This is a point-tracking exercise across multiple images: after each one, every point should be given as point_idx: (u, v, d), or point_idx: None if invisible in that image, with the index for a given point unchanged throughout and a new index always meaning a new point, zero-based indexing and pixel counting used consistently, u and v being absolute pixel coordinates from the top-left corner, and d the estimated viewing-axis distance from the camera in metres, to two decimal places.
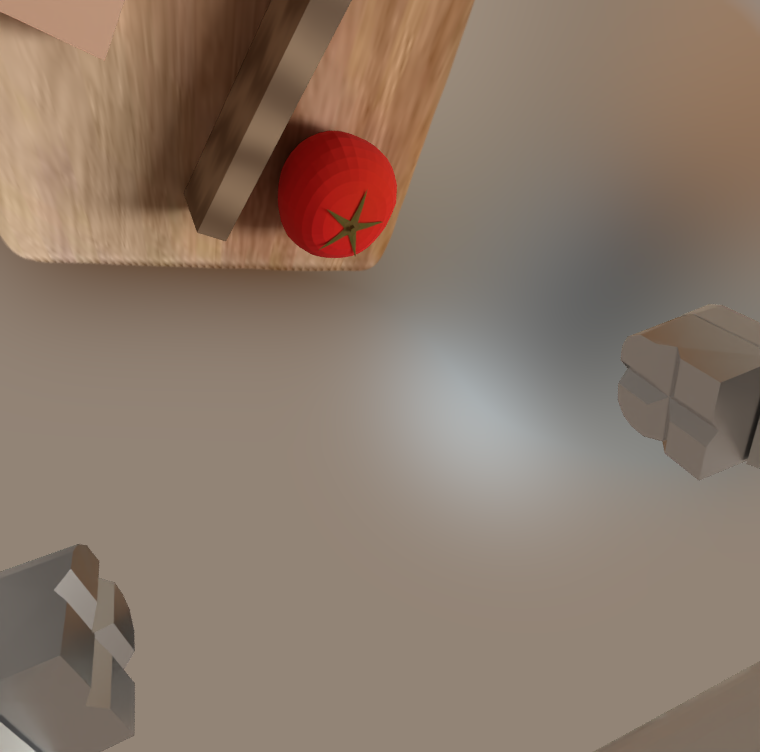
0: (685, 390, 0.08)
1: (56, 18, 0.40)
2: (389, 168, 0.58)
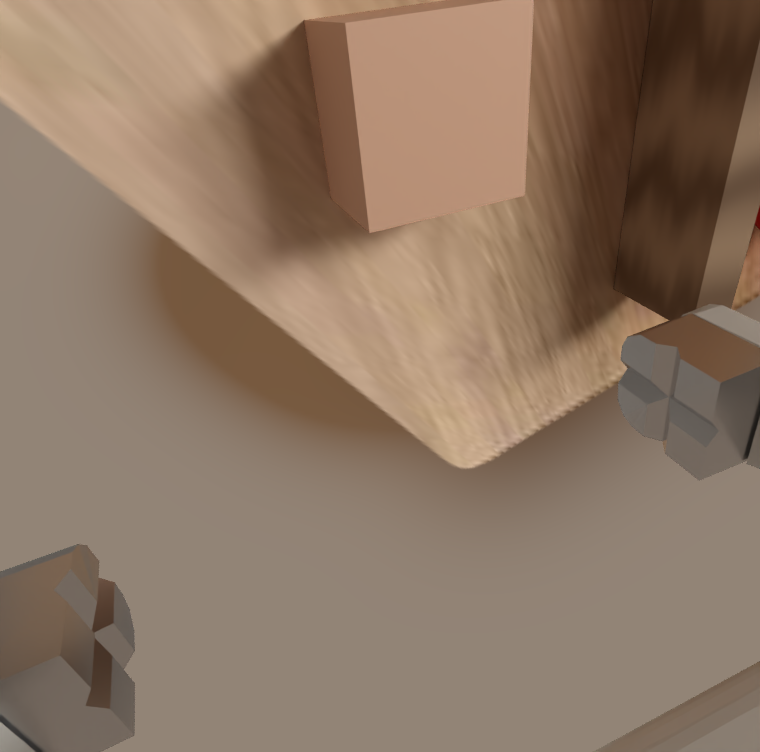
0: (686, 391, 0.08)
1: (458, 185, 0.26)
2: None
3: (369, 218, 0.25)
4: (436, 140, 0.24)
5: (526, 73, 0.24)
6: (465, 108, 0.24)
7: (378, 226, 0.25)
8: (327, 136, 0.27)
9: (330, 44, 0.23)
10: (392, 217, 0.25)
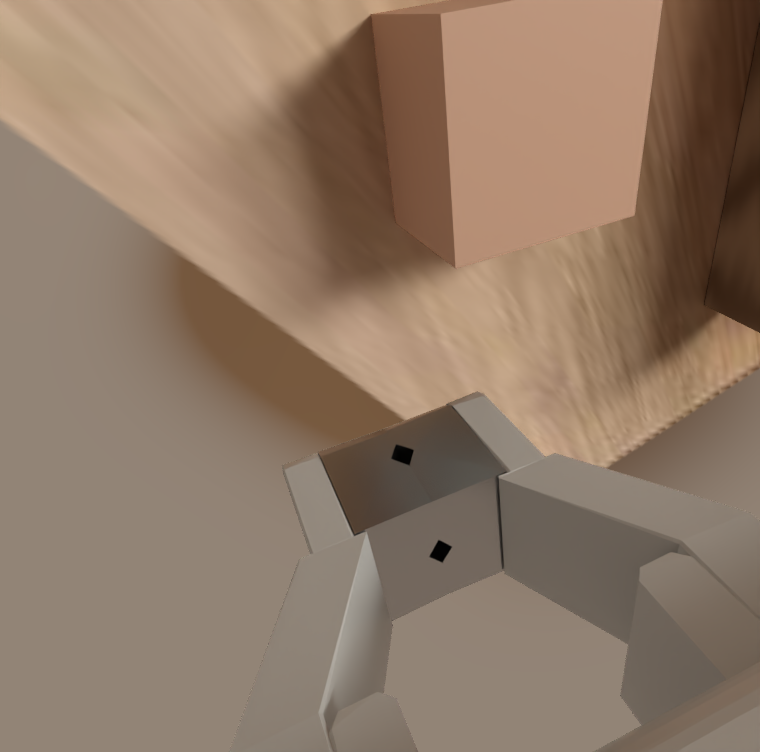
0: None
1: (560, 207, 0.21)
2: None
3: (456, 251, 0.21)
4: (539, 155, 0.20)
5: (648, 69, 0.20)
6: (575, 114, 0.19)
7: (466, 260, 0.21)
8: (396, 152, 0.23)
9: (412, 42, 0.18)
10: (482, 248, 0.21)
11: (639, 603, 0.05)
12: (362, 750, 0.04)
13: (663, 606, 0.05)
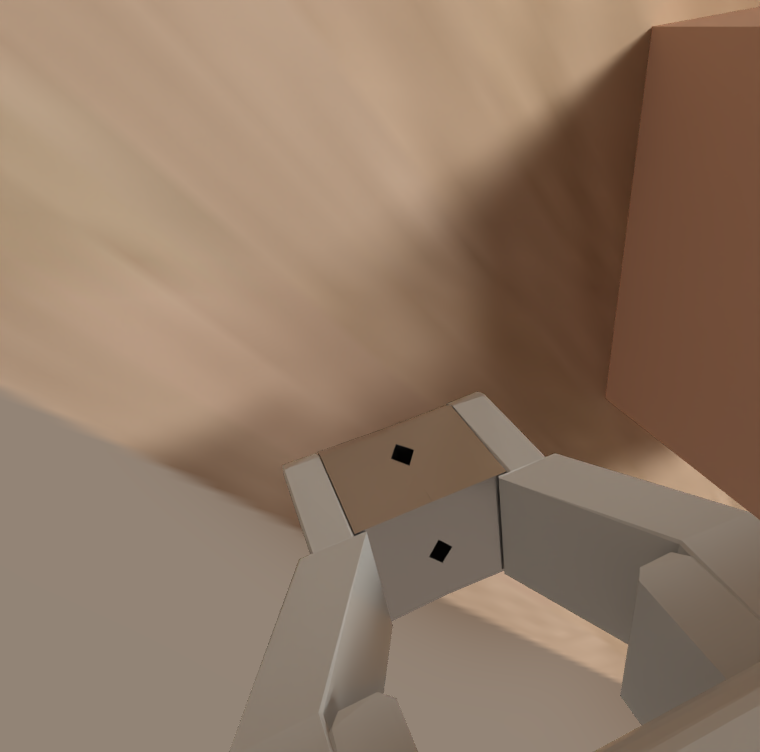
0: None
1: None
2: None
3: None
4: None
5: None
6: None
7: None
8: (658, 297, 0.11)
9: None
10: None
11: (639, 603, 0.05)
12: (362, 750, 0.04)
13: (663, 606, 0.05)
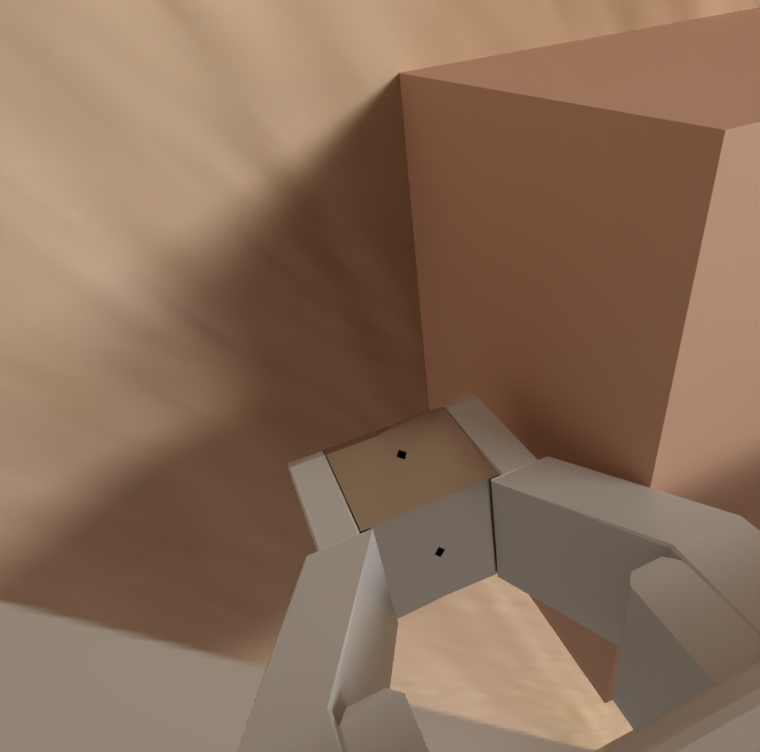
0: None
1: None
2: None
3: (614, 678, 0.08)
4: None
5: None
6: None
7: None
8: (451, 366, 0.10)
9: (538, 177, 0.06)
10: None
11: (630, 607, 0.05)
12: (371, 745, 0.04)
13: (653, 611, 0.05)
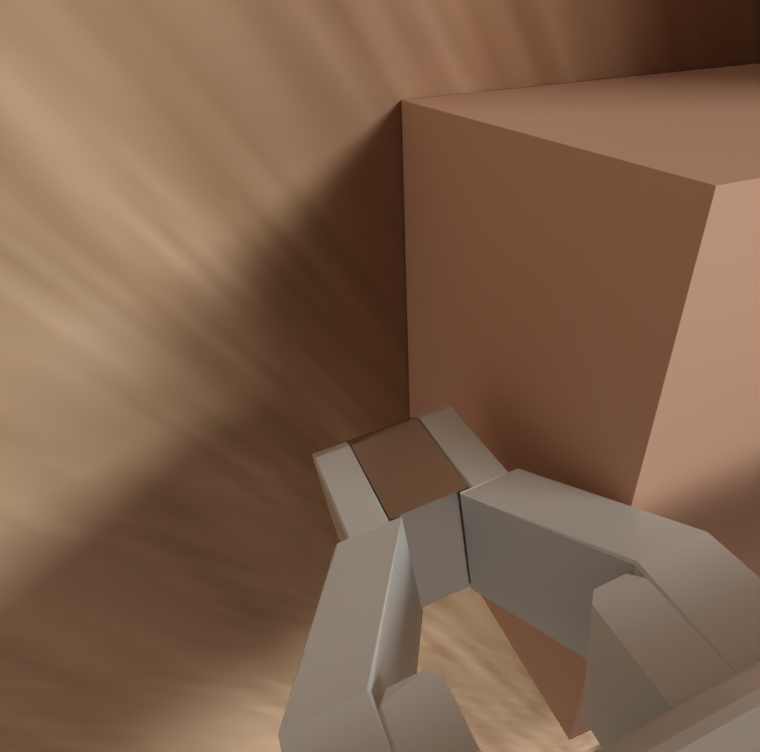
0: None
1: None
2: None
3: (579, 715, 0.08)
4: None
5: None
6: None
7: None
8: (434, 391, 0.10)
9: (532, 213, 0.06)
10: None
11: (592, 625, 0.05)
12: (413, 725, 0.04)
13: (614, 630, 0.05)
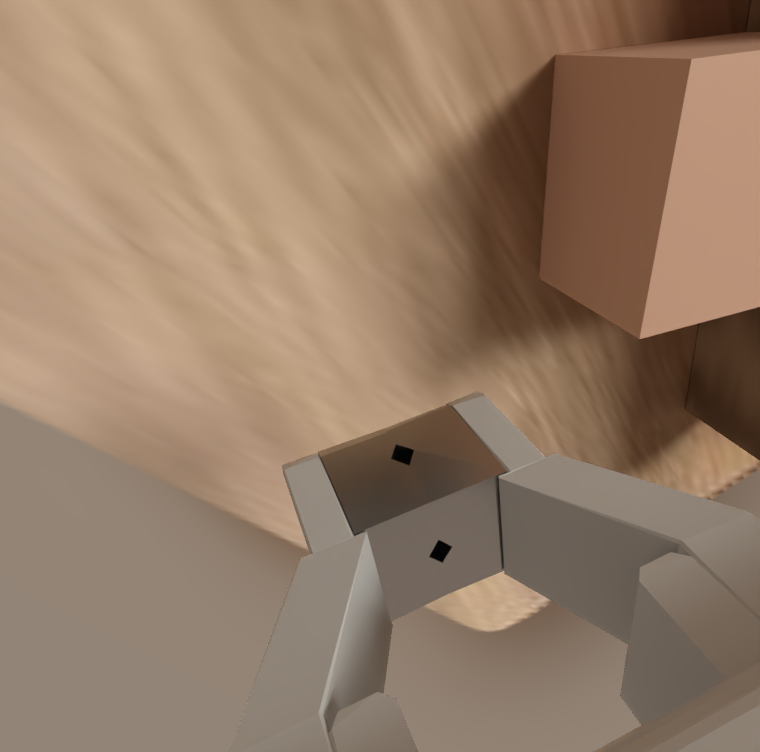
0: None
1: (756, 277, 0.19)
2: None
3: (644, 320, 0.18)
4: (749, 220, 0.17)
5: None
6: None
7: (651, 330, 0.18)
8: (562, 204, 0.21)
9: (626, 88, 0.16)
10: (670, 318, 0.18)
11: (639, 603, 0.05)
12: (362, 750, 0.04)
13: (663, 606, 0.05)
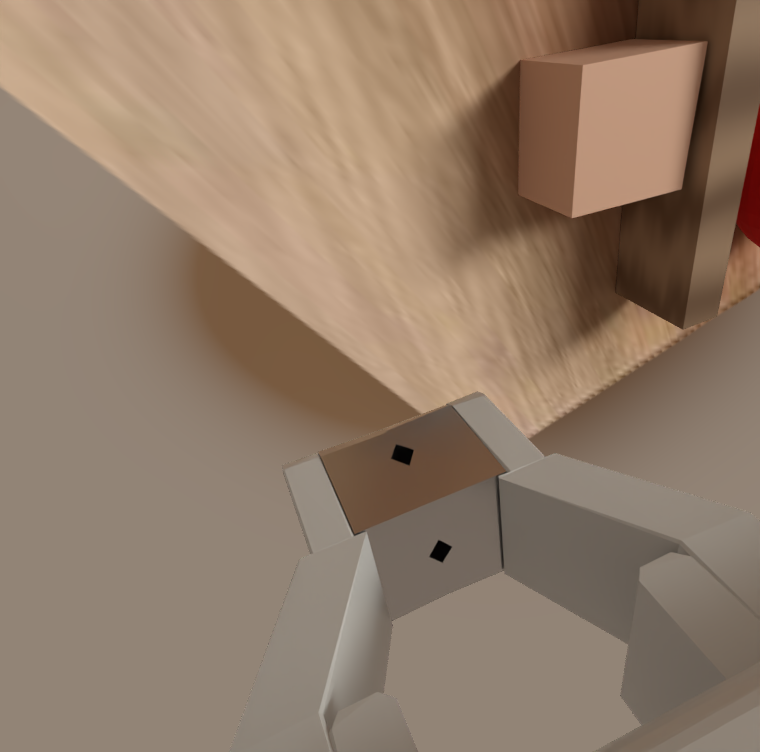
0: None
1: (636, 181, 0.34)
2: None
3: (573, 207, 0.33)
4: (627, 147, 0.32)
5: (695, 97, 0.32)
6: (650, 123, 0.32)
7: (578, 213, 0.33)
8: (528, 146, 0.35)
9: (556, 79, 0.31)
10: (588, 206, 0.33)
11: (639, 603, 0.05)
12: (362, 750, 0.04)
13: (663, 606, 0.05)
